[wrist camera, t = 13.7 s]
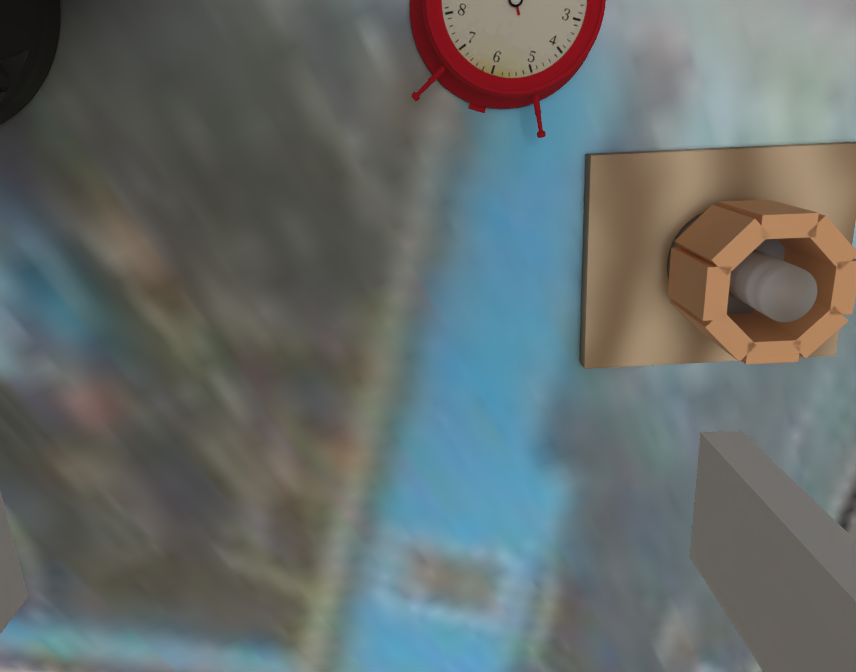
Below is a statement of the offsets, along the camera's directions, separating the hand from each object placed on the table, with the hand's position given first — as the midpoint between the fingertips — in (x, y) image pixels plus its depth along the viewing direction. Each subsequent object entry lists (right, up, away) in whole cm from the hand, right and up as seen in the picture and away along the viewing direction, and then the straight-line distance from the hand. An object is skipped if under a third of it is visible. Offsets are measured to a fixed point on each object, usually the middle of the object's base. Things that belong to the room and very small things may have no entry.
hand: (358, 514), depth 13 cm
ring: (+19, +7, +27) cm, 34 cm away
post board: (+19, +8, +30) cm, 37 cm away
